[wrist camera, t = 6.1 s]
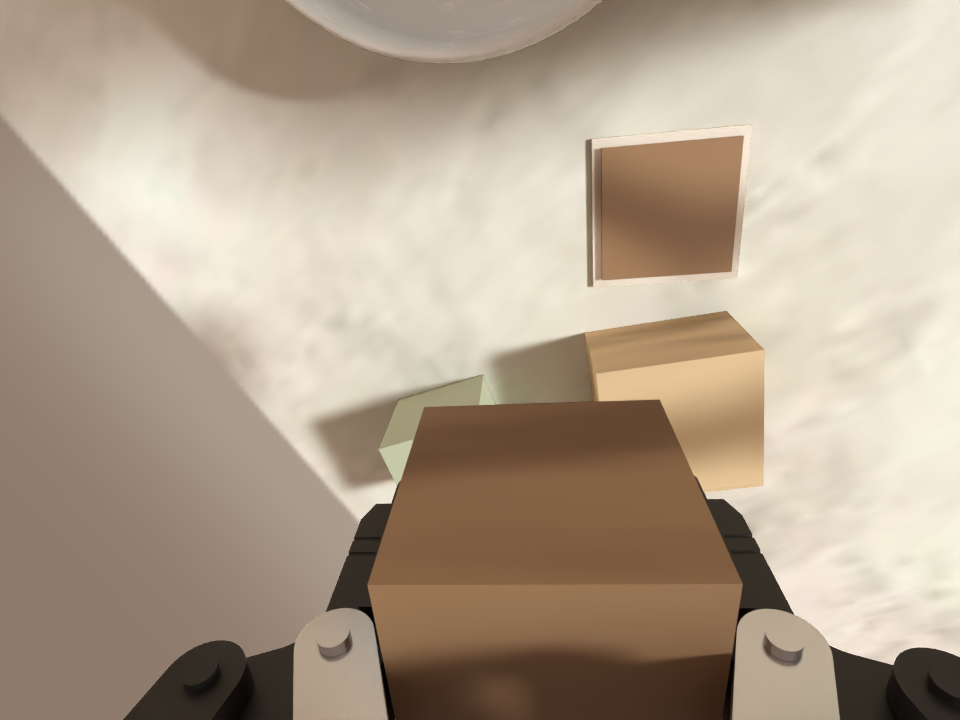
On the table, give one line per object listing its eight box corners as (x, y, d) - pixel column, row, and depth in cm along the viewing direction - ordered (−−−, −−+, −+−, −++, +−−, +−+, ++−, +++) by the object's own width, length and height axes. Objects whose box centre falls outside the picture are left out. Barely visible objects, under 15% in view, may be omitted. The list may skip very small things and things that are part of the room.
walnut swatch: (591, 138, 25) (592, 139, 25) (750, 124, 25) (754, 124, 24) (592, 285, 28) (593, 289, 28) (735, 276, 28) (739, 279, 27)
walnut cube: (423, 406, 12) (367, 584, 8) (659, 399, 12) (742, 583, 7) (446, 579, 14) (411, 798, 10) (648, 578, 14) (708, 809, 10)
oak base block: (584, 331, 29) (596, 373, 25) (725, 309, 28) (764, 349, 24) (598, 445, 32) (611, 502, 28) (727, 429, 31) (763, 485, 27)
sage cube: (398, 399, 32) (378, 449, 27) (483, 373, 31) (476, 421, 26) (432, 470, 34) (418, 529, 29) (513, 449, 33) (512, 505, 28)
